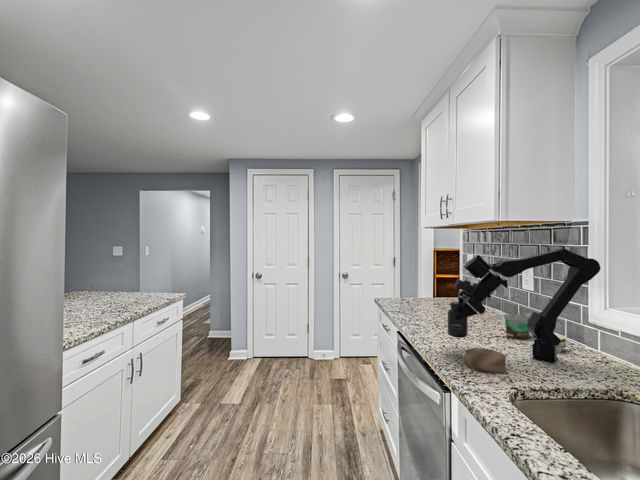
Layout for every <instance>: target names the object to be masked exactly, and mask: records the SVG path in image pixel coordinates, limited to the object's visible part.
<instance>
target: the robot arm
mask: <svg viewBox="0 0 640 480" xmlns="http://www.w3.org/2000/svg"><path fill="white" fill-rule="evenodd" d="M556 262H557V263H558V262H561V263H563V264H564V265H566V266H568V270H567V276H566V278H565V280H564V282H562V283H561V285H560V287H559V288H558V290H557V291H556V292H555V293H554V295H552V298H551V299H550V300H549V302H548V303H547V305H546V306H545V307H544V308H543V310H542V311H540V312H536V311H533V312H532V314H531V317H530V318H529V319H528V320H527V321H528V323H527V329H528V331H529V334H531V335H532V338H534V341H533V343H532V347H531V348H532V353H531V354H532V359H533V360H537V361H543V362H545V363H546V362H547V363H551V364H556V362H557V361H559V360H560V359H559V357H558V353H557V345H559V343H560V341H561V340H560V339H559V338H558V337H557V336H556V335H557V334H555V333H554V332H555V330H556V327H557V320H558V317H559V316H560V315H561V314H562V312H563V311H564V310H565V308H566V307H567V306H568V304H569V303H570V302H571V300H572V299H573V298H574V296H575V295H576V293H577V292H578V291H579V290H580V288H581V287H582V286H583V285H584V284H586V283H587V282H589V281H591V280H593V278H595V276H597V275H598V274H599V273H600V271H601V265H600V263H599V261H598V260H596V259H594V258H590V257H589V258H588V257H584V256H582V255H579V254H577V253H576V252H575V253H574V252H572V251H570V250H568V249H567V248H558V247H557V248H554V249H552V250H549V251H545V252H541V253H538V254H534V255H530V256H527V257H522V258H509V259H500V260H498V261H497V262H495V263H490V264H489V263H488V262H487V261H485V260H484V259H483V257H482V256H481V255H479V254H477V255H475V256H474V257H473V258H471V259H469V260H468V261H467V262H466V263H465V264H464V266H463V268H464V269H465V270H466V271H467V272H468V273H469V274H470V275H471V276H473V277H474V278H475V279H478V278H479V279H480V280H479V281H478V282H475V283H473V284H471V281H469V280H466V279H465V280H461V279H459V278H457V279H456V282H455V284H454V287H455V288H456V289H457V290H459V291H458V292H457V294H458V295H457V300H458V301H457V302H463V307H462V309H461V310H460V311H459V312H458V314H457V315H456V316H455V320H460V319H463V318H466V317H468V318H469V317H472V316H477V315H478V314H479V315H483V314H484V313H485V312H486V306H485V305H483V302H484V301H486V299H490V298H491V297H492V294H493V293H494V292H496V290H497V289H498V288H499V287H500V286H502V287H503V288H506V289H508V287H509V285H508V281H509V280H507V279H503V278H502V277H505V278H514V277H515V276H517V275H520V274H521V273H523V272H525V271H526V270H529V269H534V268H537V267H540V266H545V265H549V264H553V263H556ZM493 272H495V273H496V274H494V273H493ZM501 276H502V277H501Z"/></svg>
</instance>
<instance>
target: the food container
mask: <svg viewBox="0 0 640 480" xmlns="http://www.w3.org/2000/svg"><path fill="white" fill-rule="evenodd" d="M531 315H532V314H531V313H529V312H525V313H524V314H519V313H517V314H506V313H505V314H504V316H503V319H504V324H505V335H506V338H508V339H514V340H527V339H529V338H530V337H529V336H530V332H529V331H528V329H527V323H528V321H527V320H528V319H529V318H530V317H531Z"/></svg>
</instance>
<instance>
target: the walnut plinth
mask: <svg viewBox="0 0 640 480" xmlns="http://www.w3.org/2000/svg"><path fill="white" fill-rule="evenodd" d="M464 353H465V355H464V357H465V360H464V361H465V363H464V364H465V365H466V367H467V368H469V369H471V370H473V371H476V372H479V373H485V374H501V373H504V372H506V369H507V367H506V363H507V362H506V359H507V358H506V357H507V356H506V355H505V354H504V353H503V352H500V351H497V350H494V349H488V348H481V347H480V348H479V347H475V348H468V349H466V350H465V352H464Z"/></svg>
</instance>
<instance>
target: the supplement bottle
mask: <svg viewBox="0 0 640 480" xmlns="http://www.w3.org/2000/svg"><path fill="white" fill-rule="evenodd" d="M462 307H463V302H458V301H451V302H450V309H449V310H448V311H447V334H448V336H450V337H453V338H458V339H459V338H462V339H463V338H466V337H468V331H469V330H468V327H469V326H468V322H469V321H468V318H469V317H466V318H463V319H460V320H455V316H456V315H457V314H458V312H459V311H460V310H461V309H462Z"/></svg>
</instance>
